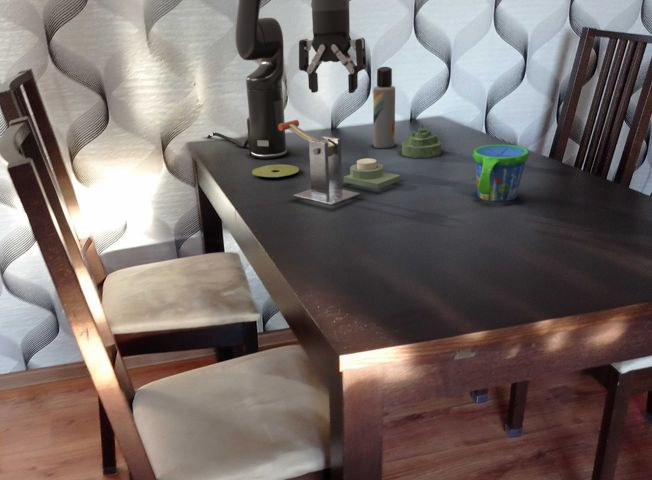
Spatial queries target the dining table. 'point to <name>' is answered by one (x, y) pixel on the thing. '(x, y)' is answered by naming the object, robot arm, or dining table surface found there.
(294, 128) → the lever
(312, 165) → the bracket
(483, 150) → the snack cup
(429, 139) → the decorative artifact
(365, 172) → the control block
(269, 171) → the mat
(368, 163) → the button
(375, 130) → the lotion bottle
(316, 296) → the dining table surface
